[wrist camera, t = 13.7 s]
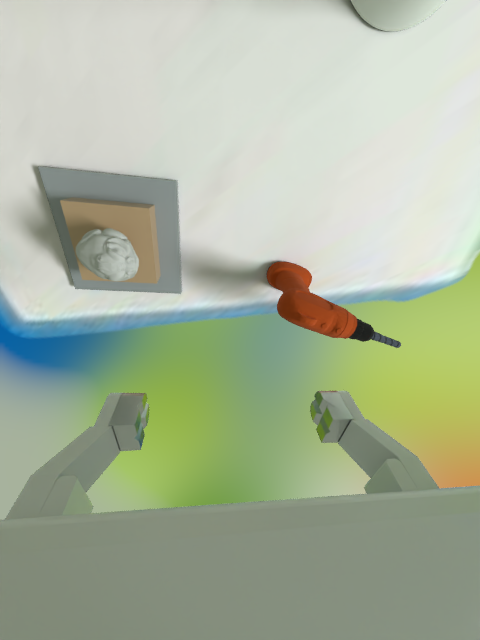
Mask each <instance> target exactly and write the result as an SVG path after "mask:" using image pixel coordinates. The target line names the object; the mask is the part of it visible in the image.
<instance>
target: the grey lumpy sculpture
mask: <svg viewBox="0 0 480 640" xmlns="http://www.w3.org/2000/svg"><path fill="white" fill-rule="evenodd" d="M76 254H77V257H78V259H79V260H80V262H81V263H82V264H83V266H85V267H86V268H87V269H88V270H90V271H91V272H93V273H94V274H95V275H97V276H98V277H100V278H103V279H108V280H111V281H125V280H128V279H130V278H133V277H134V276H135V274H136V273H137V270H138V267H139V259H138V256H137V255H136V253H135V251H134V249H133V247H132V244H131V242H130V241H129V240H128V239H127V237H126V236H125V235H124V234H122V233H121V232H119V231H117V230H114V229H111V228H106V229H104V230H103V231H102V230H99V229H95V230H91V231H89V232H87V233H86V234H85V235H84V236H83V237H82V240H81V241H80V242H79V243H78V244H77V246H76Z"/></svg>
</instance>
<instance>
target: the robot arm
mask: <svg viewBox="0 0 480 640" xmlns="http://www.w3.org/2000/svg"><path fill="white" fill-rule="evenodd" d="M446 1H447V0H351V2H352V4H353V6H354V7H355V9H356V11H357V12H358V13H359V15H360V16H361V17H362V18H363V19H364V20H365V21H366V22H367V23H369V24H370V25H372V26H373V27H375V28H378V29H380V30H384V31H401V30H405V29H409V28H411V27H413V26H415V25H417V24H419V23H421V22H423V21H424V20H426V19H427V18H428V17H430V16H431V15H432V14H433V13H434V12H436V11H437V10H438V9H439V8H440V7H441V6H442V5H443V4H444V3H445V2H446ZM146 402H147V394H146V393H110V394H109V395H108V396H107V399H106V401H105V403H104V405H103V408H102V410H101V412H100V414H99V416H98V418H97V421H96V423H95V425H94V427H89V428H88V429H87V430H86V431H84V432H83V433H82V434H81V435H80V436H78V437H77V438H76V439H75V440H74V441H72V442H71V443H70V444H69V445H68V446H66V447H65V448H64V449H63V450H61V451H60V452H59V453H58V454H57V455H56V456H54V457H53V458H52V459H51V460H49V461H48V462H47V463H46V464H45V465H43V466H42V467H41V468H40V469H38V470H37V471H36V472H35V473H34V474H33V475H31V476H30V478H29V480H28V481H27V483H26V485H25V487H24V488H23V490H22V491H21V493H20V495H19V497H18V498H17V500H16V502H15V503H14V505H13V507H12V508H11V510H10V512H9V513H8V515H7V517H6V519H5V520H0V640H480V486H470V487H455V488H441V489H439V487H438V486H437V484H436V483H435V481H434V480H433V479H432V477H431V476H430V474H429V473H428V471H427V470H426V469H425V467H424V466H423V464H422V463H421V461H420V460H419V458H418V457H417V456H416V455H414V454H413V453H412V452H410V451H409V450H408V449H406V448H405V447H404V446H402V445H401V444H400V443H398V442H397V441H396V440H394V439H393V438H392V437H390V436H389V435H388V434H386V433H385V432H384V431H382V430H381V429H380V428H378V427H377V426H376V425H374V424H373V423H371V422H370V421H369V420H367V419H364V417H363V416H362V414H361V412H360V410H359V409H358V407H357V405H356V404H355V402H354V400H353V399H352V397H351V395H350V394H349V392H347V391H318V392H316V394H315V400H314V401H313V402H312V403H311V406H310V412H311V417H312V420H313V422H315V423H316V424H317V425H318V426H317V429H316V430H317V433H318V435H319V438H320V440H321V442H322V443H330V442H331V443H333V442H334V443H337V442H339V443H338V444H339V445H340V446H341V447H342V448H343V449H344V450H345V451H346V452H347V453H348V454H349V455H350V457H351V458H352V459H353V460H354V461H355V462H356V463H357V464H358V465H359V466H360V467H361V468H362V469H363V470H364V471H365V472H366V474H367V475H368V476H369V477H370V478H371V479H370V480H369V481H368V483H367V484H366V485H365V487H364V488H365V491H366V493H367V494H357V495H342V496H328V497H315V498H301V499H287V500H272V501H259V502H244V503H230V504H217V505H202V506H188V507H174V508H160V509H147V510H133V511H118V512H104V513H91V512H92V509H93V505H92V503H91V501H90V500H89V498H88V496H87V495H86V492H87V491H88V490H89V488H90V487H91V486H92V485H93V484H94V482H95V481H96V480H97V479H98V478H99V477H100V475H101V474H102V473H103V472H104V471H105V470H106V468H107V467H108V466H109V465H110V464H111V462H112V461H113V460H114V459H115V458H116V457H117V455H118V454H119V453H120V451H131V450H141V446H142V443H143V439H144V430H143V429H144V428H145V427H146V426H147V423H148V418H149V405H148V404H147V403H146Z"/></svg>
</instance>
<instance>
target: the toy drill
mask: <svg viewBox="0 0 480 640" xmlns="http://www.w3.org/2000/svg"><path fill="white" fill-rule="evenodd" d="M267 280H268V282H269V284H270V285H271V286H273V287H274V288H276V289H278V290H281V291H283V294H282V296H281V297H280V299H279V301H278V304H277V310H278V313H279V315H280V316H281V317H282V318H284V319H286V320H288V321H289V322H291V323H293V324H296V325H298V326H300V327H303V328H306V329H309V330H312V331H315V332H318V333H320V334H323V335H326V336H330V337H333V338H345V339H346V338H350V339H357V340H360V341H368V340H370V339H372V340H375V341H379V342H382V343H385V344H387V345H390V346H394V347H396V348H398V347H400V346H401V343H400V342H399V341H396V340H394V339H391V338H388V337H386V336H383V335H381V334H379V333H377V332H374V330H373V328H372V327H371V325H369V324H367V323H364V322H362V321H361V320H359V319H357V318H356V317H355V316H354V315H352V314H351V313H350V312H348V311H347V310H346V309H344V308H342V307H340V306H338V305H335V304H333V303H331V302H329V301H327V300H325V299H323V298H321V297H319V296H317V295H315V294H313V293H310V291H309V289H308V287H309V285H310V283H311V280H312V276H311V274H310V272H309V271H308V270H307V269H305V268H303V267H301V266H299V265H296V264H293V263H289V262H276V263H274V264H272V265H271V266H270V267H269V269H268V271H267Z"/></svg>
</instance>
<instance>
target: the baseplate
mask: <svg viewBox="0 0 480 640" xmlns="http://www.w3.org/2000/svg"><path fill="white" fill-rule="evenodd" d="M38 168H39V171H40V175H41V178H42V181H43V184H44V188H45V191H46V194H47V198H48V201H49V204H50V207H51V211H52V214H53V217H54V220H55V224H56V227H57V230H58V233H59V237H60V240H61V243H62V246H63V250H64V253H65V256H66V260H67V263H68V266H69V269H70V273H71V276H72V279H73V282H74V286H75V289H90V290H112V291H134V292H156V293H178V294H181V292H182V284H181V258H180V232H179V205H178V181H176V180H166V179H157V178H147V177H138V176H129V175H119V174H110V173H100V172H91V171H82V170H72V169H63V168H53V167H44V166H38ZM106 228H111V229H114V230H117V231H119V232H121V233H122V234H124V235H125V236H126V237H127V239H128V240H129V241H130V242H131V244H132V247H133V249H134V251H135V253H136V255H137V256H138V259H139V267H138V270H137V273H136V274H135V276H134V277H133V278H130V279H128V280H125V281H111V280H108V279H103V278H100V277H98V276H97V275H95V274H94V273H93V272H91V271H90V270H88V269H87V268H86V267H85V266H83V264H82V263H81V262H80V260H79V259H78V257H77V254H76V246H77V244H78V243H79V242H80V241H81V240H82V237H83V236H84V235H85V234H86V233H87V232H89V231H91V230H95V229H99V230H102V231H103V230H104V229H106Z"/></svg>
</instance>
